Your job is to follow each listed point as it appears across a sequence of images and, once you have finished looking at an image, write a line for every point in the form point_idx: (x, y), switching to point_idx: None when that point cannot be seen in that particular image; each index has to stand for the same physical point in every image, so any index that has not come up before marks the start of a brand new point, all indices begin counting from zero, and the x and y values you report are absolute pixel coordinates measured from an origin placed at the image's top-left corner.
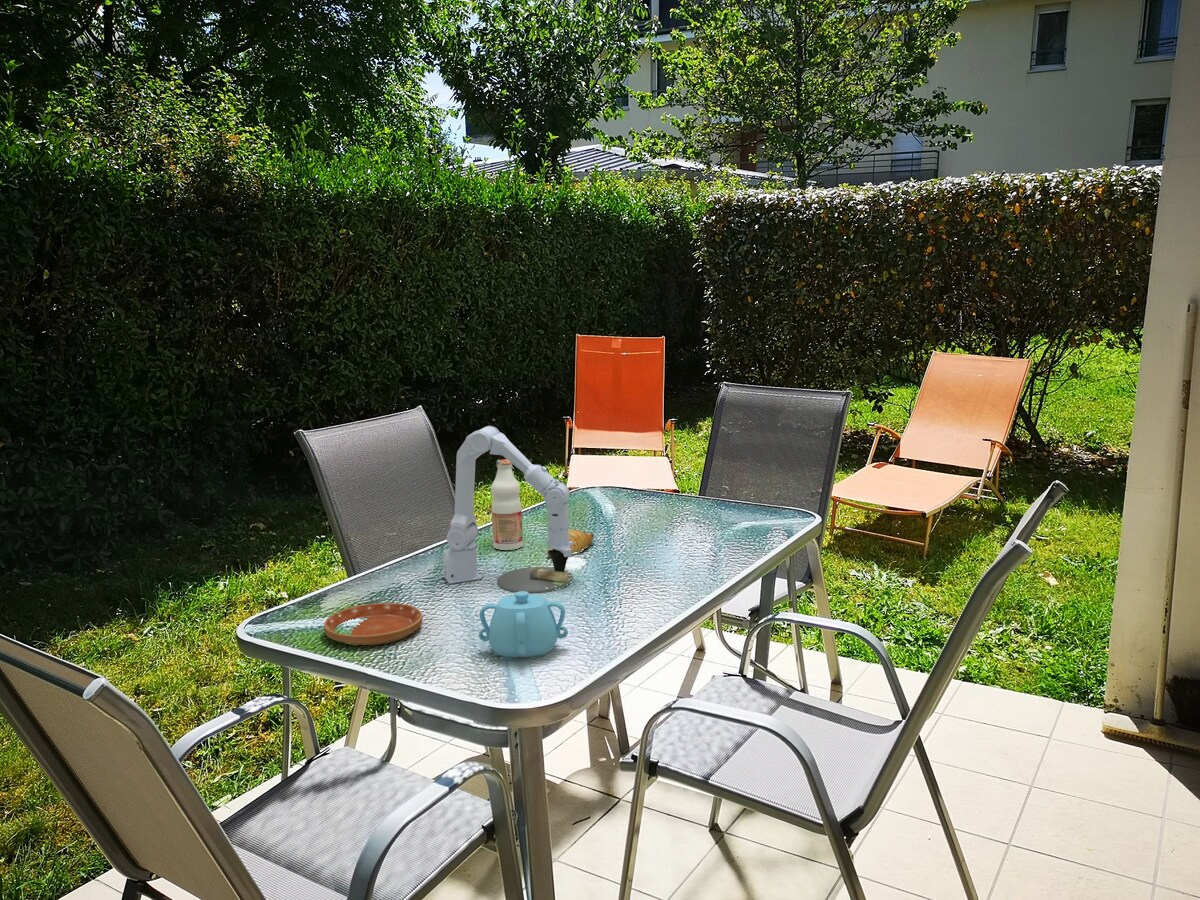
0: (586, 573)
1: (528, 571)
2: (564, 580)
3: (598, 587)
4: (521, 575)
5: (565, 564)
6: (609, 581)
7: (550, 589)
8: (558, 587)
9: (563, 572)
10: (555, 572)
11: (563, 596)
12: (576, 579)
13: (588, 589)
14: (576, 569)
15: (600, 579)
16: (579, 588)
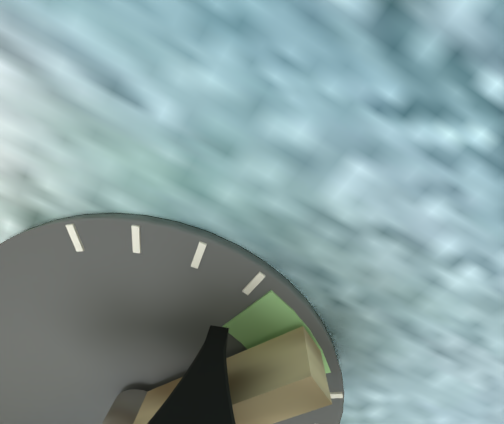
0: (147, 91)
1: (23, 379)
2: (321, 360)
3: (493, 184)
4: (77, 419)
5: (230, 404)
6: (453, 22)
7: (339, 413)
8: (341, 380)
9: (285, 389)
10: (252, 421)
11: (445, 394)
12: (239, 221)
13: (466, 256)
14: (21, 109)
15: (350, 68)
16: (405, 287)
